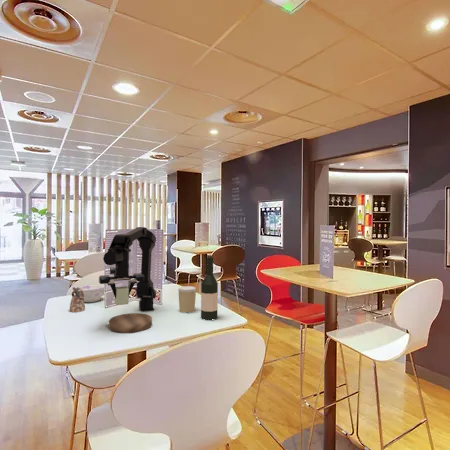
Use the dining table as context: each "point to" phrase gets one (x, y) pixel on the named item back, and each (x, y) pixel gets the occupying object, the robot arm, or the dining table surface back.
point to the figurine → (77, 300)
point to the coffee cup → (187, 298)
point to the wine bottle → (209, 293)
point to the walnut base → (130, 323)
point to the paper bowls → (92, 292)
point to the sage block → (122, 295)
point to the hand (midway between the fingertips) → (121, 297)
